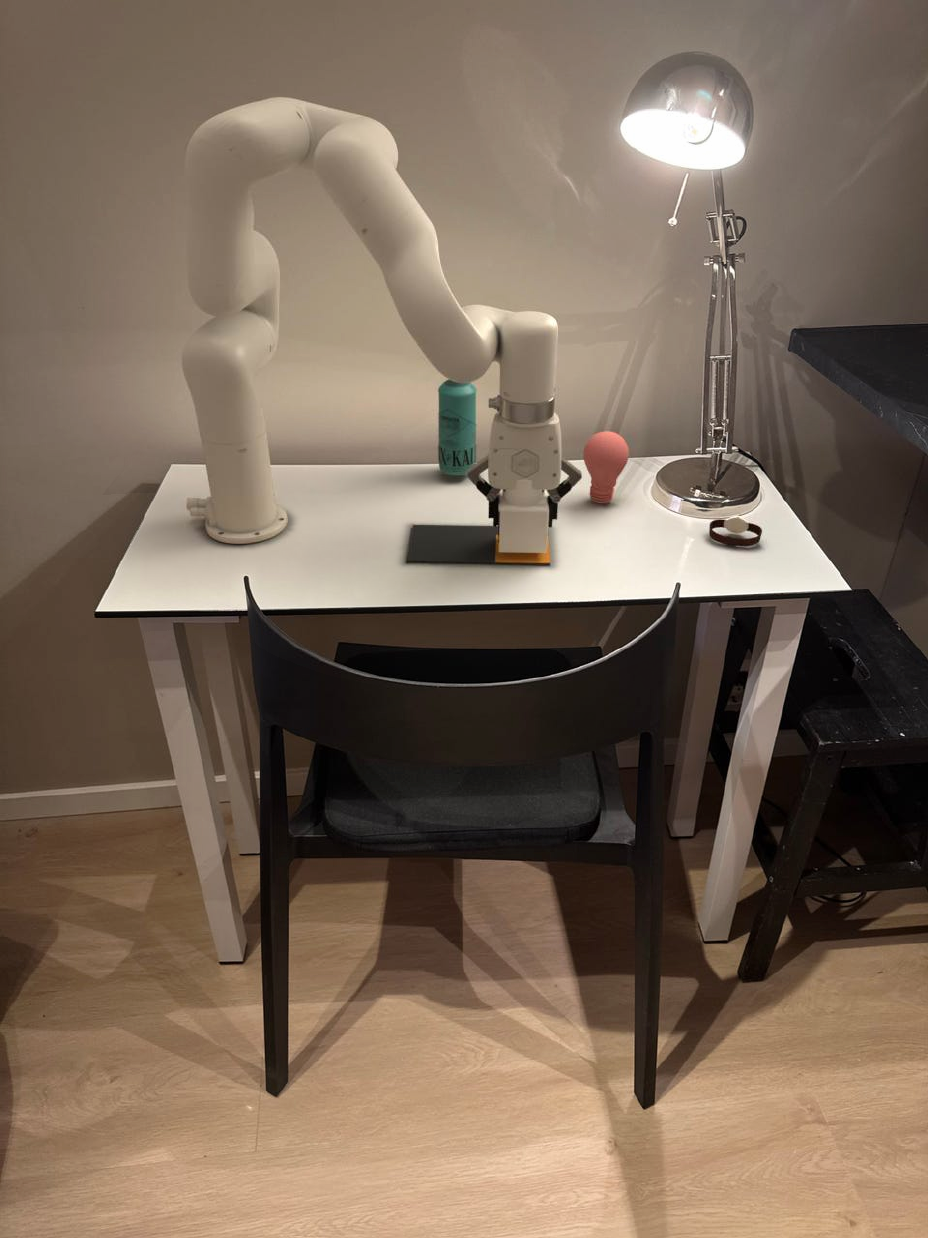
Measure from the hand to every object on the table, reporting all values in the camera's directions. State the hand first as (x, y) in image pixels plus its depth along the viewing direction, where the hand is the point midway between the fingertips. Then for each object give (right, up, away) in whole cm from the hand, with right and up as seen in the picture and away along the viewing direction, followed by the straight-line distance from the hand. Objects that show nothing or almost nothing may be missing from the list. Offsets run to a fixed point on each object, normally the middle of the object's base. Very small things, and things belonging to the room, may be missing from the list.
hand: (522, 521), depth 140 cm
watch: (+32, -2, +5) cm, 33 cm away
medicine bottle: (0, -3, +2) cm, 4 cm away
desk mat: (-6, -3, +4) cm, 8 cm away
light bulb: (+14, +5, +16) cm, 22 cm away
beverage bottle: (-10, +10, +24) cm, 28 cm away
